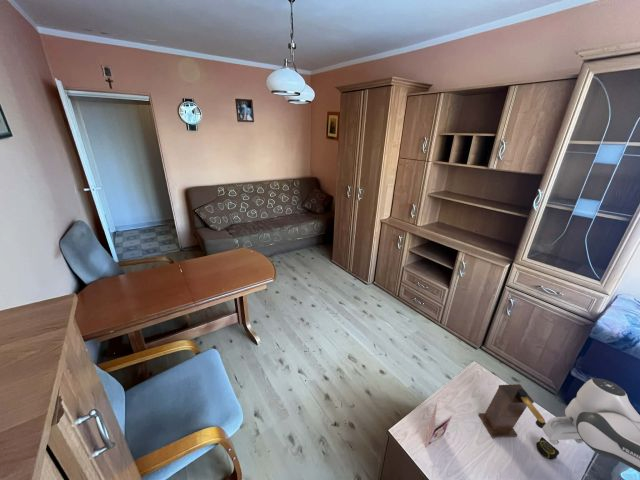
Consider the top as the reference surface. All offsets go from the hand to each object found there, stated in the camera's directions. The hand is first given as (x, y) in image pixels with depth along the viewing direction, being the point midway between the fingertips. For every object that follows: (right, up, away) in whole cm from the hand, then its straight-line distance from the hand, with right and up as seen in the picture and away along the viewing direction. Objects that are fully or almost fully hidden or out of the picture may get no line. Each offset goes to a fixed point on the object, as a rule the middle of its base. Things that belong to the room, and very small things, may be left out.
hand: (565, 441), depth 93 cm
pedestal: (-3, -17, +31) cm, 36 cm away
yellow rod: (-1, +2, +15) cm, 15 cm away
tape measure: (+12, -22, +23) cm, 34 cm away
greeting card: (-37, -17, +26) cm, 48 cm away
